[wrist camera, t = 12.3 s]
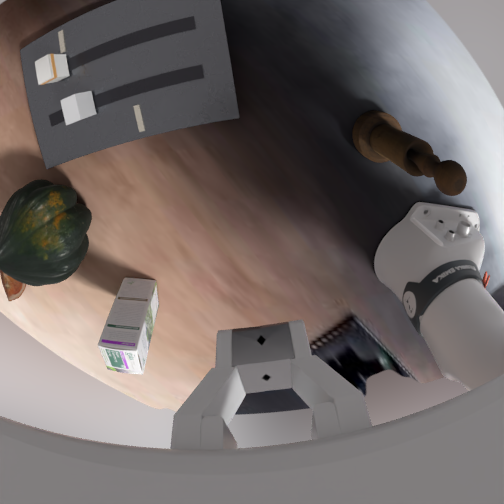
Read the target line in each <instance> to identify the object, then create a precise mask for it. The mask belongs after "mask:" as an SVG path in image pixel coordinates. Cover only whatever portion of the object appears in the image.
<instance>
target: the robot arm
mask: <svg viewBox="0 0 504 504" xmlns="http://www.w3.org/2000/svg"><path fill="white" fill-rule="evenodd" d="M425 210H426V211H425ZM424 211H425V212H424ZM479 227H480V223H479V216H478V213H477V212H476V211H475V210H471V209H465V208H459V207H452V206H445V205H439V204H431V203H424V202H417V203H416V204H414V205H413V206H412V208H411V209H410V211H409V212H408V214H407V215H406V217H405V218H404V219H403V220H402V221H400V222H399V223H398V224H396V225H395V226H394V227H393V228H392V229H391V230H390V231H389V232H388V233H387V234H386V235H385V237H384V238H383V239H382V241H381V243H380V245H379V247H378V249H377V251H376V255H375V259H374V269H375V273H376V276H377V277H378V279H379V280H380V281H381V282H382V283H383V284H385V285H386V286H387V287H388V288H389V289H390V290H391V291H392V292H393V293H394V294H395V295H396V296H397V297H398V298H399V299H400V301H401V302H402V303H403V306H404V308H405V310H406V313H407V315H408V317H409V319H410V320H411V322H412V324H413V326H414V327H415V329H416V331H417V332H418V334H419V335H420V336H421V337H423V338H424V339H425V341H426V343H427V345H428V347H429V349H430V351H431V353H432V355H433V357H434V359H435V360H436V362H437V364H438V366H439V368H440V371H441V373H442V374H443V376H444V377H445V378H447V379H449V380H451V381H458V382H460V383H461V384H462V385H463V386H464V387H465V388H466V389H467V390H468V392H466V393H464V394H462V395H460V396H457V397H455V398H453V399H451V400H448V401H446V402H443V403H441V404H438V405H436V406H433V407H431V408H428V409H425V410H423V411H420V412H417V413H415V414H411V415H409V416H405V417H402V418H400V419H396V420H393V421H390V422H386V423H383V424H380V425H376V426H372V424H371V420H370V417H369V413H368V410H367V406H366V403H365V400H364V396H363V393H361V392H360V391H359V390H358V389H357V388H355V387H354V386H353V385H352V384H350V383H349V382H348V381H347V380H345V379H344V378H343V377H342V376H340V375H339V374H338V373H337V372H336V371H334V370H333V369H332V368H331V367H330V366H328V365H327V364H326V363H325V362H323V361H322V360H321V359H320V358H319V357H317V356H316V355H314V356H312V355H311V350H310V346H309V342H308V338H307V333H306V329H305V325H304V321H303V320H297V321H290V322H283V323H277V324H270V325H263V326H259V327H249V328H239V329H230V330H219V331H218V333H217V344H216V367H215V368H211V370H210V371H209V372H208V373H207V375H206V376H205V377H204V379H203V380H202V381H201V382H200V384H199V385H198V386H197V387H196V389H195V390H194V391H193V392H192V394H191V395H190V396H189V397H188V399H187V400H186V401H185V402H184V404H183V405H182V406H181V407H180V408H179V410H178V411H177V412H176V413H175V415H174V420H173V430H172V439H171V449H160V448H146V447H136V446H127V445H119V444H111V443H105V442H98V441H92V440H87V439H82V438H77V437H71V436H67V435H63V434H58V433H54V432H50V431H46V430H43V429H39V428H36V427H32V426H29V425H26V424H22V423H19V422H16V421H13V420H10V419H7V418H5V417H1V416H0V504H504V311H503V310H502V308H501V307H500V306H499V305H498V303H497V302H496V301H495V300H494V299H493V297H492V296H491V295H490V294H489V293H488V291H487V290H486V289H485V288H486V286H487V283H488V281H489V278H490V275H489V276H488V278H487V272H485V274H484V277H483V280H482V278H481V275H480V273H479V271H480V268H481V265H482V261H483V257H484V251H485V243H484V239H483V237H482V235H481V234H480V232H479ZM486 278H487V280H486ZM287 388H293V390H294V391H295V392H296V393H297V394H298V395H299V396H300V397H301V398H302V400H303V401H304V402H305V403H306V404H307V405H308V406H309V407H310V408H311V409H312V410H313V416H312V429H311V438H312V440H309V441H303V442H297V443H289V444H281V445H273V446H264V447H252V448H239V449H238V448H237V442H236V440H235V439H234V437H233V435H232V434H231V432H230V430H229V428H228V427H227V426H228V425H229V423H230V421H231V420H232V418H233V416H234V414H235V413H236V411H237V409H238V408H239V406H240V404H241V402H242V401H243V399H244V397H245V395H246V393H254V392H262V391H268V390H278V389H287Z"/></svg>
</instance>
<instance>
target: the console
mask: <svg viewBox="0 0 504 504" xmlns="http://www.w3.org/2000/svg"><path fill="white" fill-rule="evenodd" d="M20 53H21V61H22V68H23V75H24V81H25V86H26V92H27V97H28V102H29V106H30V111H31V115H32V120H33V124H34V128H35V132H36V135H37V139H38V143H39V146H40V150H41V153H42V156H43V160H44V163H45V166H46V169H49V168H52V167H54V166H57V165H59V164H62V163H65V162H67V161H70V160H73V159H76V158H79V157H81V156H84V155H87V154H90V153H93V152H96V151H99V150H103V149H106V148H109V147H112V146H116V145H119V144H122V143H126V142H129V141H133V140H137V139H140V138H144V137H148V136H152V135H156V134H160V133H164V132H169V131H173V130H177V129H182V128H187V127H191V126H196V125H201V124H207V123H212V122H218V121H224V120H230V119H236V118H239V110H238V103H237V97H236V91H235V85H234V78H233V72H232V66H231V60H230V54H229V48H228V42H227V36H226V30H225V23H224V18H223V12H222V6H221V0H116V1H113V2H111V3H108V4H106V5H103V6H101V7H99V8H96V9H94V10H92V11H90V12H87V13H85V14H83V15H81V16H79V17H77V18H75V19H73V20H71V21H69V22H67V23H65V24H63V25H61V26H59V27H57V28H56V29H54V30H52V31H50V32H48V33H47V34H45V35H43V36H42V37H40V38H38V39H37V40H35V41H33V42H32V43H30V44H29V45H27V46H25V47H24V48H22V49H21V50H20ZM47 54H66V58H67V64H68V70H69V75H70V76H68V77H66V78H64V79H62V80H60V81H58V82H54V83H47V84H44V85H38V79H37V74H36V67H35V61H37V60H39V59H40V58H42V57H44V56H46V55H47ZM88 91H92V96H93V101H94V105H95V110H96V114H95V115H93V116H90V117H87V118H85V119H82V120H79V121H77V122H74V123H72V124H69V125H66V123H65V119H64V115H63V110H62V106H61V101H60V100H62V99H65V98H67V97H69V96H71V95H74V94H77V93H82V92H88Z"/></svg>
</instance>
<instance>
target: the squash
mask: <svg viewBox="0 0 504 504" xmlns="http://www.w3.org/2000/svg"><path fill="white" fill-rule="evenodd" d="M91 220H92V216H91V212H90V210H89V209H88V208H87V207H86V206H84V205H83V204H77V195H76V192H75V190H74V189H73V188H71V187H68V186H65V185H54V184H53V183H51V182H49V181H47V180H35V181H33V182H30V183H29V184H27V185H26V186H24V187H23V188H21V189H19V190H18V191H16V192H15V193H14V194H13V195H12V196H11V198H10V199H9V200H8V202H7V204H6V206H5V208H4V210H3V212H2V214H1V216H0V270H1V271H2V272H4V273H5V274H7V275H8V276H10V277H12V278H13V279H15V280H17V281H19V282H21V283H24V284H28V285H32V286H42V285H47V284H56V283H59V282H62V281H64V280H66V279H67V278H68V277H69V276H71V275H72V274H73V273H74V272H75V271H76V270H77V268H78V267H79V264H80V263H81V261H82V260H83V259H84V257H85V255H86V253H87V250H88V246H89V240H88V236H87V234H86V232H87V231H88V229H89V226H90V223H91Z"/></svg>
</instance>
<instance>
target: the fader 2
mask: <svg viewBox="0 0 504 504" xmlns="http://www.w3.org/2000/svg"><path fill="white" fill-rule="evenodd" d="M60 101H61V106H62V110H63V115H64V119H65V123H66V125H69V124H72V123H74V122H77V121H79V120H82V119H85V118H87V117H90V116H93V115H95V114H96V110H95V105H94V101H93V96H92V91H88V92H82V93H77V94H74V95H71V96H69V97H67V98H65V99H62V100H60Z"/></svg>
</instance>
